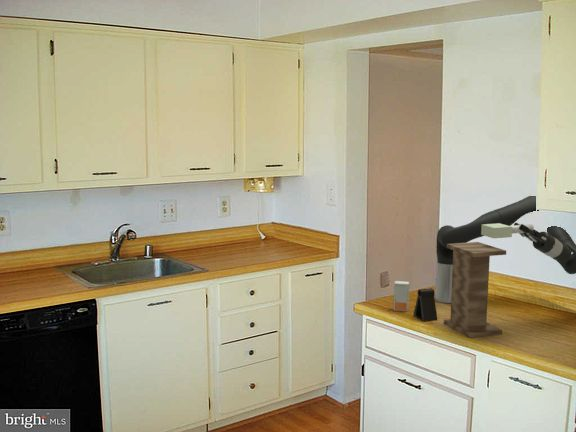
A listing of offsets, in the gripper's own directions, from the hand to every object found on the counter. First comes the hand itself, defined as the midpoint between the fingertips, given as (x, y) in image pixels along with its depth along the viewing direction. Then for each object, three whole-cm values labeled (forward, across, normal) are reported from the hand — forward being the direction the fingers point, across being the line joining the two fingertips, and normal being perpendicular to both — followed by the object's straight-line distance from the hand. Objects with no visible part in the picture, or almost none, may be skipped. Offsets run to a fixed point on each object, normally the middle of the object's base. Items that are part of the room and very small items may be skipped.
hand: (517, 225), depth 264 cm
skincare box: (+9, -31, +50) cm, 60 cm away
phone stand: (+5, -18, +48) cm, 52 cm away
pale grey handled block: (+1, 0, +5) cm, 5 cm away
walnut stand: (-3, 0, +43) cm, 43 cm away
